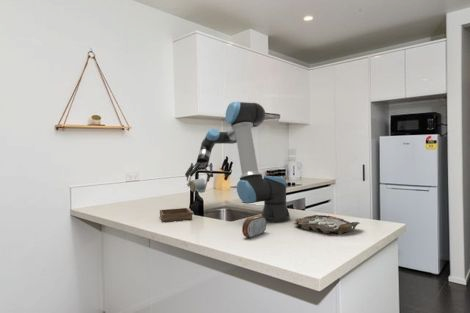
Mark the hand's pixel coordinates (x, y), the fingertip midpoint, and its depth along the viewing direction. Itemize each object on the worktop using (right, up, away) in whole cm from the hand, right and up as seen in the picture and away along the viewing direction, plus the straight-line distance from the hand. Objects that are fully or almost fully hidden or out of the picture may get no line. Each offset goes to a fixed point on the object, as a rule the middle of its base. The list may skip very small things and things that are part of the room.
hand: (196, 185), depth 197 cm
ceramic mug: (+1, -4, +2) cm, 5 cm away
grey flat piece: (+64, -17, -41) cm, 78 cm away
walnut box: (-10, -17, -13) cm, 24 cm away
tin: (+32, -18, -52) cm, 63 cm away
